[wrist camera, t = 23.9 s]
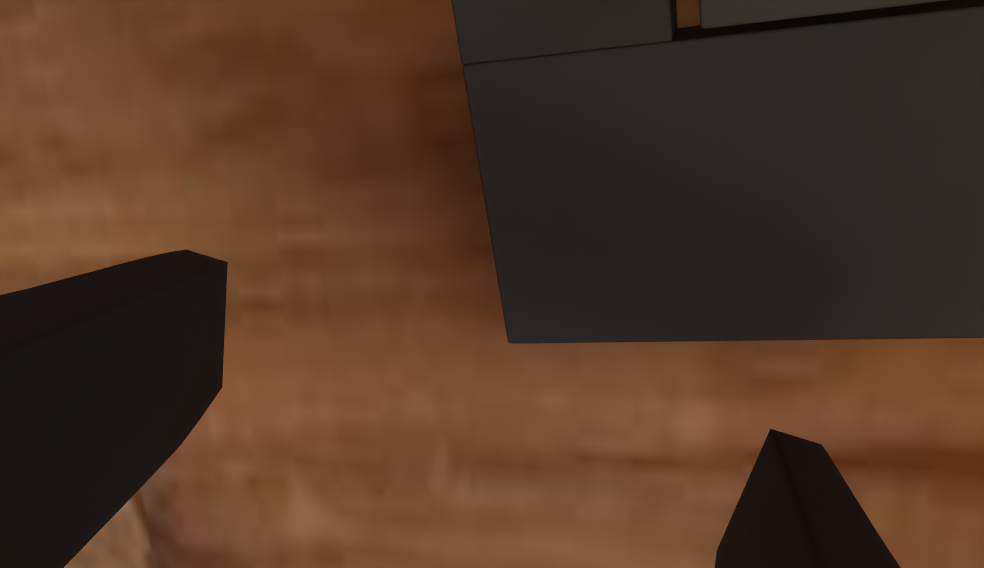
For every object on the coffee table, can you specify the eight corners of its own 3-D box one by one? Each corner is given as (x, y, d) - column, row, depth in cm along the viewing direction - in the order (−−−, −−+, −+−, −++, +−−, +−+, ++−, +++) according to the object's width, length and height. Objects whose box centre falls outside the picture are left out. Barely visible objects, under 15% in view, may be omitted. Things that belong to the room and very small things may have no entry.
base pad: (522, 315, 21) (507, 344, 20) (435, -243, 16) (408, -252, 15) (1083, 302, 18) (1110, 337, 16) (1183, -414, 13) (1235, -446, 11)
